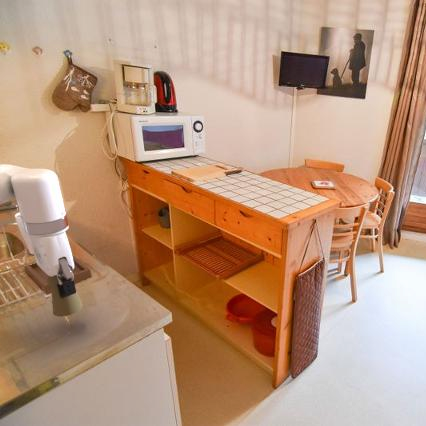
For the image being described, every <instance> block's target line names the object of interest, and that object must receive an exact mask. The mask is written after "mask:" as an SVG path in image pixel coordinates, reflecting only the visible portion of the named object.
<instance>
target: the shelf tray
mask: <svg viewBox="0 0 426 426" xmlns="http://www.w3.org/2000/svg"><path fill="white" fill-rule="evenodd" d="M72 257H73V261H74V269H73V270H71V269H70V270H71V271H72V272H73V274H74V283H75V284H77V283H81V282H83V281H85V280H88V279H91V278H93V276H92V271H91V269H90V268H89V267H88V266H87V265H86V264H84V263H83V262H82V261H81V260H79V258H77V257H75V255H73V254H72ZM23 268H24V271H25V273H26V274H27V275H28V276H29V277H30V278H31V280H32V281H34V283H35V284H36V285H37V286H38V287H39V288H40V289H41V290H42V291H43V290H44V291H43V292H44V293H45V294H46V295H50V294H52V290H51V287H50V286H49V285H48V284H47V281H46V279H47V274H46V273H45V272H44V271H43V270H42V269H41V268H40V267H39V266H38V265H37V263H35V264H32V265H28V266H25V267H24V266H23Z"/></svg>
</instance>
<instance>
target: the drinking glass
mask: <svg viewBox="0 0 426 426" xmlns="http://www.w3.org/2000/svg"><path fill="white" fill-rule="evenodd" d="M14 219H15V222H16V226H17V228H18V231H19V232H20V236H21V237H22V239H23V241H24V243H25V246H26V249H27V250H28V253H29V254H30V255H33V256H34V253H33V248H32V243H31V238H30V236H28V235H26V232H25V228H24V225H23V221H22V218H21V214H20V212H17V213H15V214H14Z"/></svg>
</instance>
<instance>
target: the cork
mask: <svg viewBox="0 0 426 426" xmlns="http://www.w3.org/2000/svg"><path fill="white" fill-rule="evenodd" d="M61 270H62V269H59V271H61ZM71 272H72V271H71ZM72 274H73V272H72ZM63 276H64V274H60V278H62V277H63ZM73 279H74V274H73ZM46 281H47V284H48V285H49V286H50V287H51V290H52V293H51V302H52V303H51V304H52V315H54V316H55V317H60V318H64V317H69V316H71V315H74V314H76V313H78V312H80V311H81V310H82V308H83V306H84V304H83V302H82V299H81V297H80V295H79V293H78V291H77V289H76V293H75V294H72V295H70V296H67V297H65V298H60V295H59V292H58V288H57V284H58V281H57V279H56V276H55V275H54V276H53V277H51V276H47V279H46Z"/></svg>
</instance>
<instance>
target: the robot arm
mask: <svg viewBox="0 0 426 426" xmlns="http://www.w3.org/2000/svg"><path fill="white" fill-rule="evenodd" d="M13 200H16V204H17V207H18V211H19V213H20V214H21V218H22V221H23V225H24V228H25V232H26V235H28V236H30V238H31V243H32V248H33V253H34V255H33V257H34V261H36V263H37V265H38V266H39V267H40V268H41V269H42V270H43V271H44V272H45V273H46V274H47V276H51V277H53V276H54V275H55V276H56V279H57V281H58V284H57V288H58V292H59V295H60V298H65V297H67V296H70V295H72V294H75V293H76V290H77V288H76V285H75V284H76V283H74V279H73V274H72V272H71V270H73V269H74V261H73V257H72V255H73V254H72V253H73V252H72V249H71V245H70V243H69V238H68V236H67V233H66V231H67V230H68V229H69V228H70V227H69V220H68V217H67V213H66V208H65V204H64V198H63V195H62V191H61V186H60V181H59V177H58V175H57V174H56V173H55V172H54V171H53V170H51V169H48V168H27V167H23V166H18V165H14V164H8V163H7V164H6V163H1V164H0V205H2V204H4V203H7V202H10V201H13ZM59 269H62V270H61V271H59ZM70 269H71V270H70ZM60 274H64V276H63V277H62V278H60Z"/></svg>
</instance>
